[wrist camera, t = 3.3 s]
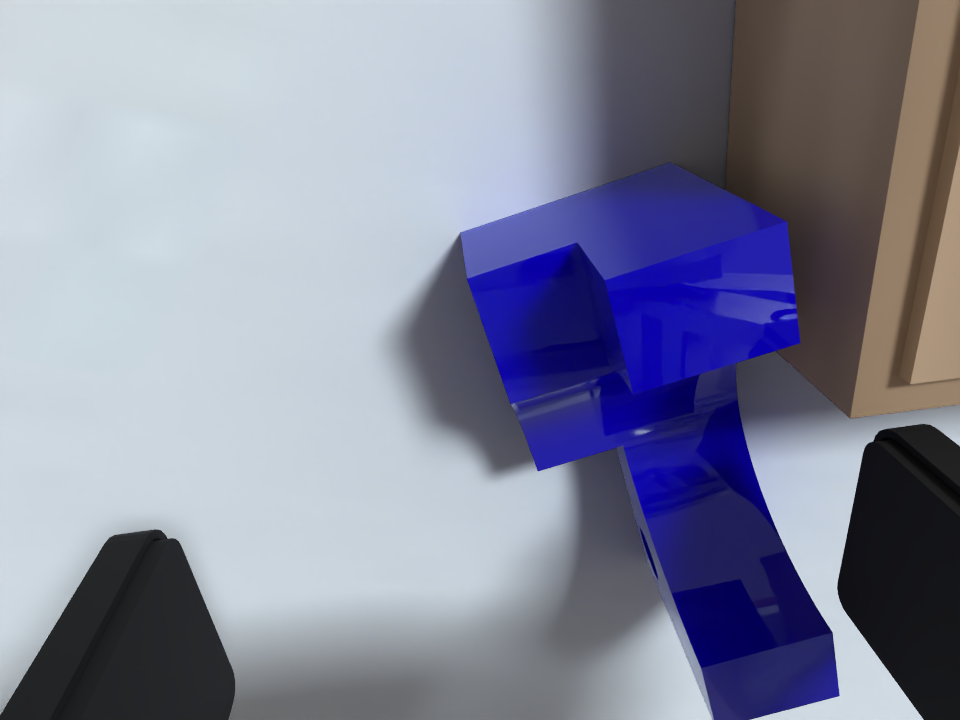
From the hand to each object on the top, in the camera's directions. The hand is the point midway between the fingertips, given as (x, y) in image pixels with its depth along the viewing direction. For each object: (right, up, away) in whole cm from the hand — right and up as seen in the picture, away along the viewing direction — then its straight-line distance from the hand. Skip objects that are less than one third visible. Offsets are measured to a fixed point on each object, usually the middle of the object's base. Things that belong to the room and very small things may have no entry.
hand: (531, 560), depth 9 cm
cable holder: (+2, +2, +3) cm, 4 cm away
